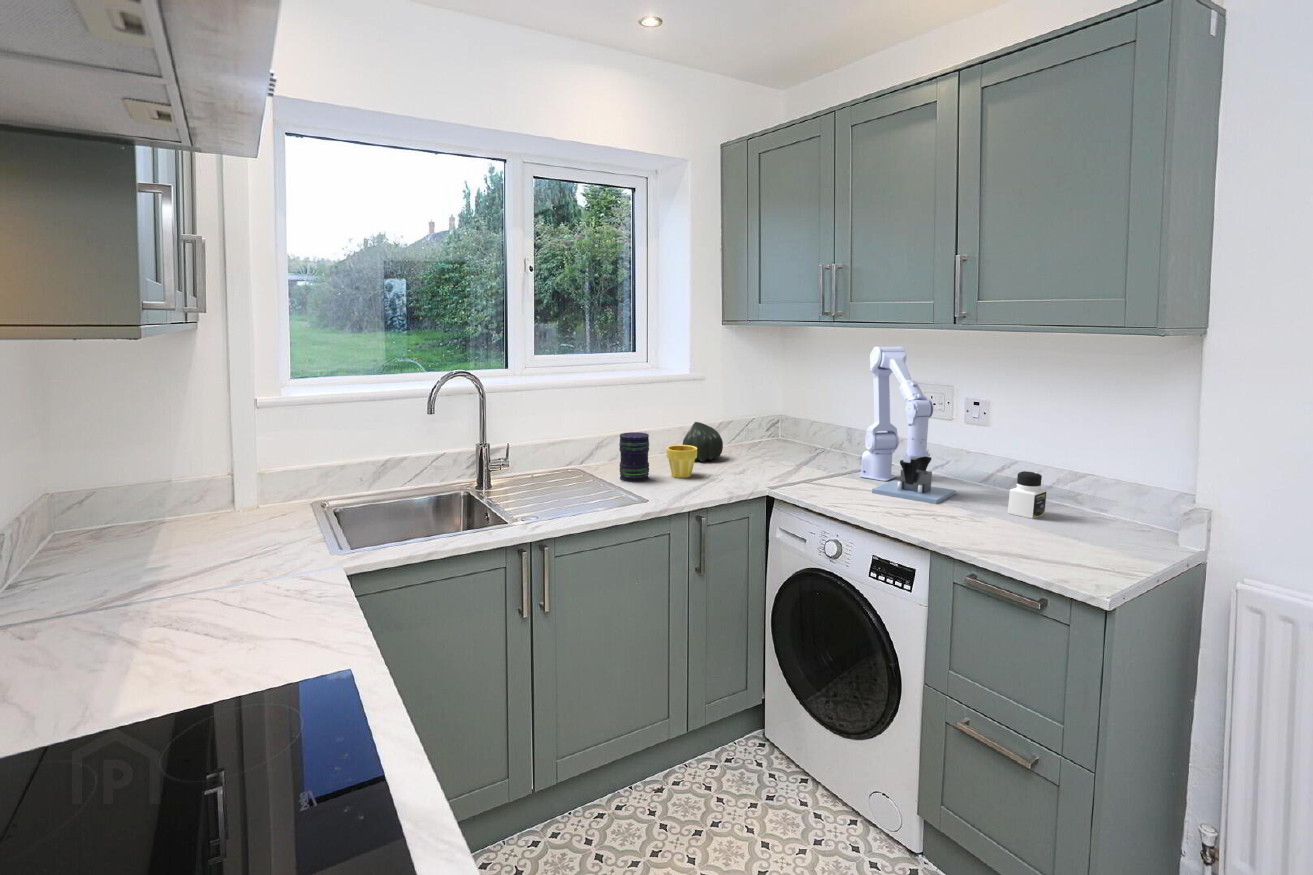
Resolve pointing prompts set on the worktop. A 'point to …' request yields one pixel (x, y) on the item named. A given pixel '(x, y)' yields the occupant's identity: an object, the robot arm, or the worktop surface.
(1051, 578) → the worktop surface
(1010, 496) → the medicine bottle
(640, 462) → the storage jar
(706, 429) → the squash
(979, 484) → the worktop surface
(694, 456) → the plant pot
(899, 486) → the tray
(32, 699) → the worktop surface
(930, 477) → the grey notched block
